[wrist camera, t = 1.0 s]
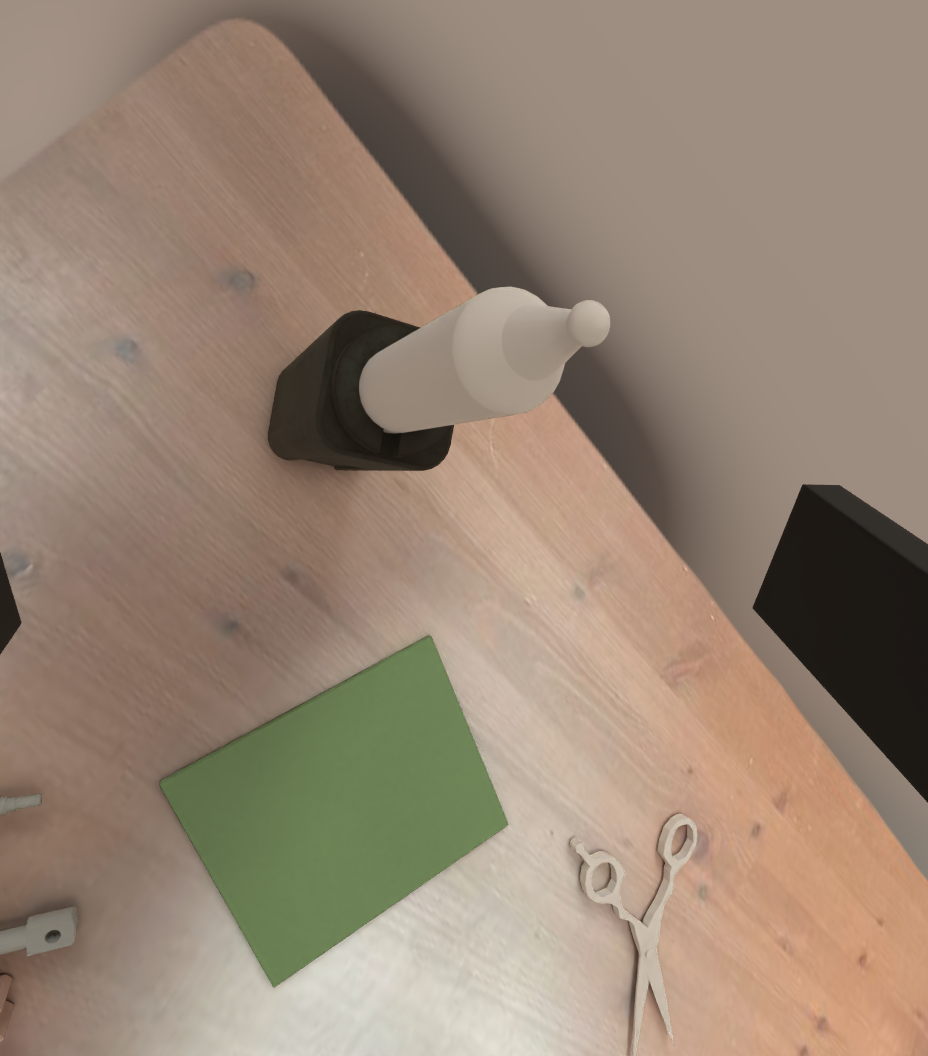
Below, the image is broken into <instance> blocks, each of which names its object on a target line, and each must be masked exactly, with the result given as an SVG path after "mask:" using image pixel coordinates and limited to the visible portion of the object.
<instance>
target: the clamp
mask: <svg viewBox="0 0 928 1056" xmlns="http://www.w3.org/2000/svg"><path fill="white" fill-rule="evenodd" d="M41 804H42V794H36V795H30V796H23V797H10V798H8V797H6V796H5V797H0V815H5V814H6V813H7V812H12V811H16V810H17V809H23V808H29V807H35V806H41ZM77 926H78V913H77V910H76V907H75V906H73V907H69V908H64V909H60V910H55V911H51V912H47V913H42V914H38V915H34V916H29V918H28V921H27V925H23V926H19V927H15V928H11V929H6V930H2V931H0V955H1V954H6V953H10V952H14V951H18V950H22V949H27V956H30V955H34V954H39V953H43V952H47V951H51V950H55V949H59V948H63V947H67V946H71V945H73V943H74V940H75V936H76V931H77ZM11 982H12V977H10V976H8V975H6V974H5V975H1V976H0V1042H1V1041H2V1040H3V1039H4V1036H5V1033H6V1029H7V1026H8V1023H9V1020H10V1016H11V1013H12V1010H13V1007H14V1004H12V1003H10V1002H8V1001H6V998H7V994H8V991H9V988H10V985H11Z"/></svg>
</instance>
